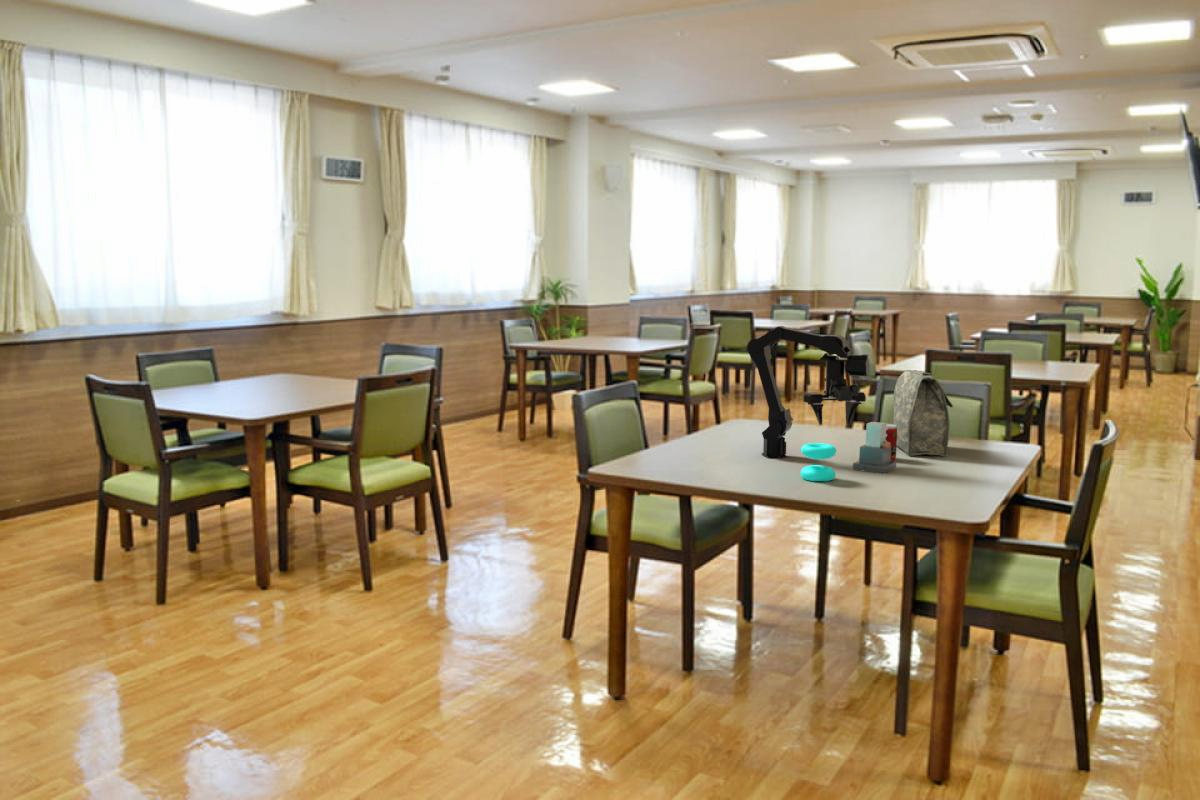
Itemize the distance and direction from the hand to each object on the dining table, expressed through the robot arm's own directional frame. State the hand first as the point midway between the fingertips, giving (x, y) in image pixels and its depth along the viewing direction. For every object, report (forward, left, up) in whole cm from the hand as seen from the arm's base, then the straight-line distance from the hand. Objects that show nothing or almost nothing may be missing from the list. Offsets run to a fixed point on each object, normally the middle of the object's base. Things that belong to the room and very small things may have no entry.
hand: (834, 424), depth 307 cm
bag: (+37, +12, -12) cm, 41 cm away
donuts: (-15, -23, -12) cm, 30 cm away
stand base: (+8, -13, -12) cm, 19 cm away
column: (+8, -13, -10) cm, 18 cm away
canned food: (+18, +1, -12) cm, 22 cm away
